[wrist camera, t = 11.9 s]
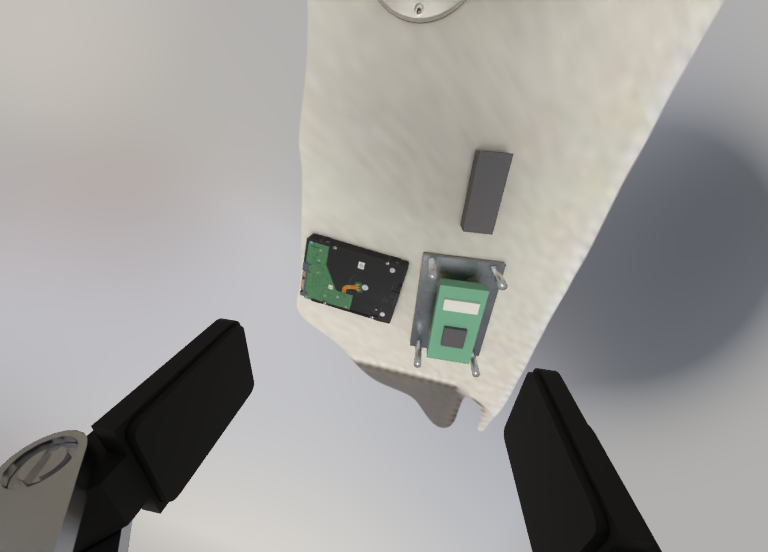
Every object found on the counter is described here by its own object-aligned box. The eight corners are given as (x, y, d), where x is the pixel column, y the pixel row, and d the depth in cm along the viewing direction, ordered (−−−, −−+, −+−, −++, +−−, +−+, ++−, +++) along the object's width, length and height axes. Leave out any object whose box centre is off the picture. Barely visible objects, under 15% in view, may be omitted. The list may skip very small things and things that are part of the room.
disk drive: (409, 258, 41) (312, 231, 41) (408, 266, 38) (305, 237, 38) (392, 314, 45) (305, 290, 45) (390, 324, 43) (298, 299, 43)
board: (439, 277, 37) (440, 287, 34) (486, 284, 36) (490, 293, 34) (426, 348, 42) (426, 360, 40) (467, 354, 41) (469, 367, 39)
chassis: (423, 252, 39) (422, 270, 34) (504, 262, 38) (516, 282, 33) (410, 341, 46) (408, 367, 41) (477, 351, 45) (484, 379, 40)
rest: (475, 150, 33) (479, 151, 30) (506, 152, 32) (513, 154, 30) (460, 224, 37) (463, 231, 34) (487, 227, 36) (492, 234, 34)
